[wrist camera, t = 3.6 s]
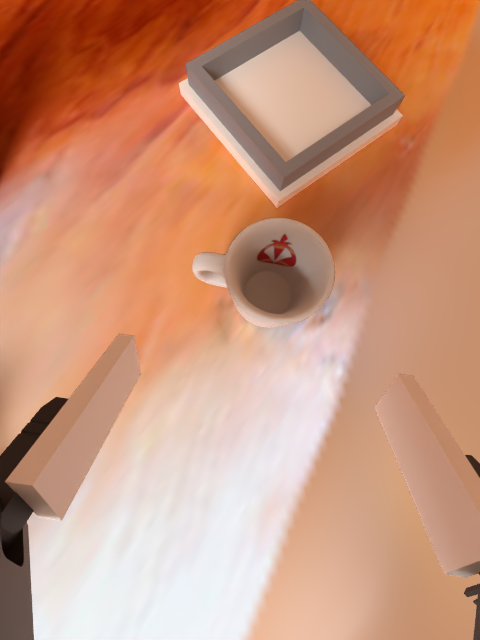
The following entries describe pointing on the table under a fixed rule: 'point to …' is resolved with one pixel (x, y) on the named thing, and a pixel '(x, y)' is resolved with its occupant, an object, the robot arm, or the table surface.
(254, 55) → the gray rimmed square tray
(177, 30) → the table surface
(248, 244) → the cup
